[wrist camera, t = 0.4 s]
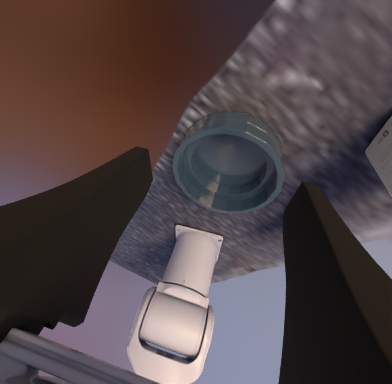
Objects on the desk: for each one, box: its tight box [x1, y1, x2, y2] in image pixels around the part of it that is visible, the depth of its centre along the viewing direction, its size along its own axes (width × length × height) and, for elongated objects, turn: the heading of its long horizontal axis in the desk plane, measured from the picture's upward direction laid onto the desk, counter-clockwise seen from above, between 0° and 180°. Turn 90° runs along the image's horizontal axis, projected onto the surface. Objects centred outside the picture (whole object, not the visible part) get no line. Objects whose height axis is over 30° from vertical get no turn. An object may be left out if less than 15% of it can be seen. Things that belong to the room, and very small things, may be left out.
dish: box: [172, 111, 285, 214], centre depth 19 cm, size 10×10×4 cm
